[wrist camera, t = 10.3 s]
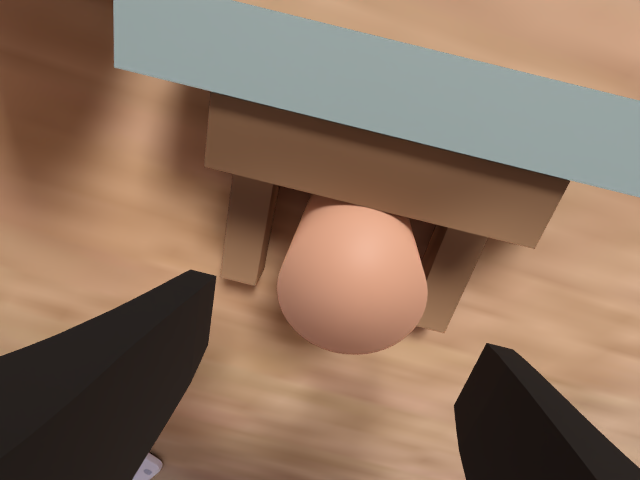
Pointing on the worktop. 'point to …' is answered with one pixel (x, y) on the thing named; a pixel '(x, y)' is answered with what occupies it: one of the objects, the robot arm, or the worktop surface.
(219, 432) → the worktop surface
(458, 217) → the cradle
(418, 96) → the backstop board
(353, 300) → the pink egg shape
